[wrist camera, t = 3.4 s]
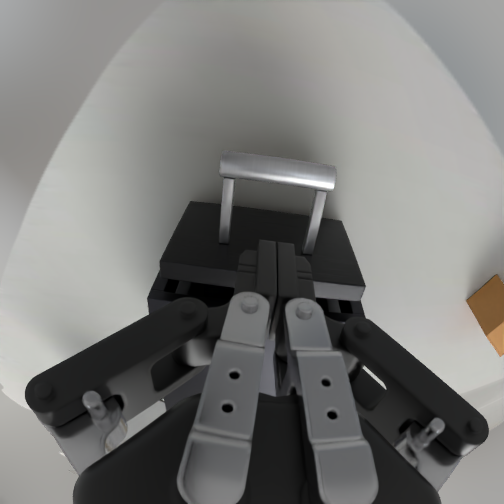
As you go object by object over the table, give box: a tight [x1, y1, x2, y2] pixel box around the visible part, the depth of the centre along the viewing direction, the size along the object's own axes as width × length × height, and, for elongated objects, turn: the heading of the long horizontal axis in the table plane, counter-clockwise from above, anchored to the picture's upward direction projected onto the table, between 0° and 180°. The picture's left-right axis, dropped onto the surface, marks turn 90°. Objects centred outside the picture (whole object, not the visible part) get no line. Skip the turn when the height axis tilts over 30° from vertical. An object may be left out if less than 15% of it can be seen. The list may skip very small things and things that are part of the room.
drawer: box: [160, 151, 366, 313], centre depth 22 cm, size 19×11×8 cm, turn 173°
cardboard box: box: [466, 274, 504, 357], centre depth 26 cm, size 6×5×5 cm
